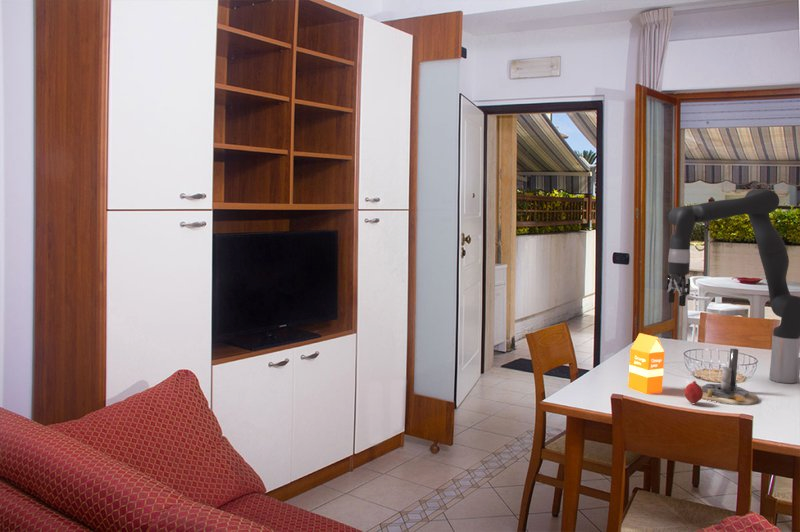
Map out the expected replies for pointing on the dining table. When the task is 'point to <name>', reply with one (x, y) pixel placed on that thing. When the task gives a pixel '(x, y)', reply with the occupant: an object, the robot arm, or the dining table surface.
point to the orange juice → (646, 365)
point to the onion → (693, 392)
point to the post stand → (726, 387)
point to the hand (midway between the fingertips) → (676, 304)
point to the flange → (734, 391)
